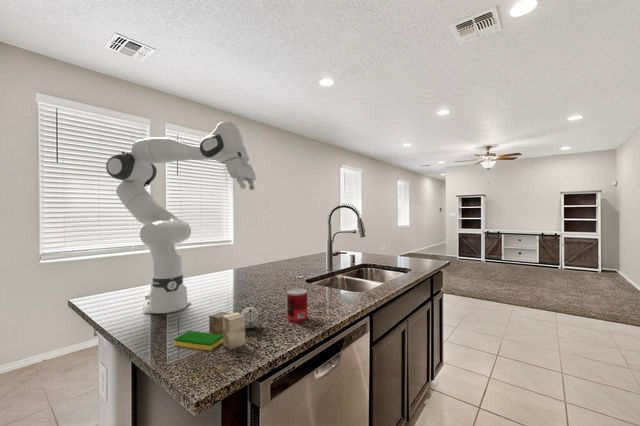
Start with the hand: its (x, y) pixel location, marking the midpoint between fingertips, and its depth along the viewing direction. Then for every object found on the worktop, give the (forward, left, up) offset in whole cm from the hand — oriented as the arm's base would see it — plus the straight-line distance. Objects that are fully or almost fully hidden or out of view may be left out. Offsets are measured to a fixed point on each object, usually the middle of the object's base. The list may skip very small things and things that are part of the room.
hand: (248, 189), depth 123 cm
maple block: (+24, -19, -52) cm, 60 cm away
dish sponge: (+15, -27, -53) cm, 61 cm away
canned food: (+21, +9, -52) cm, 57 cm away
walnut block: (+11, -18, -52) cm, 56 cm away
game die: (+16, -9, -52) cm, 55 cm away
